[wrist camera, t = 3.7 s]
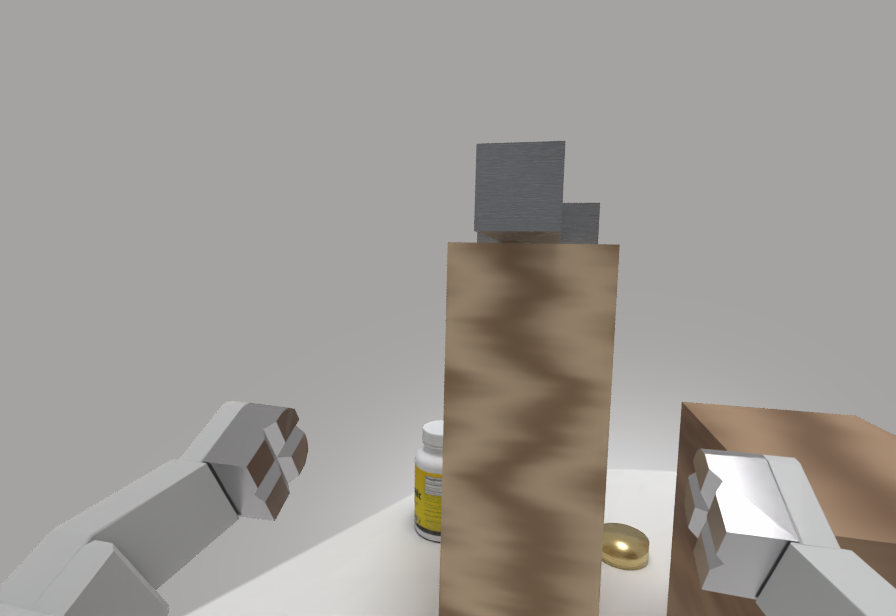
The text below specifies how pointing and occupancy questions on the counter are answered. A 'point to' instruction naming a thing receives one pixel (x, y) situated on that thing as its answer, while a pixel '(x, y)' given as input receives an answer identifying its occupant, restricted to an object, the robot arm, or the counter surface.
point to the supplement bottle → (429, 482)
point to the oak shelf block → (526, 427)
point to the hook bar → (528, 197)
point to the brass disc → (624, 547)
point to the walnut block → (828, 471)
